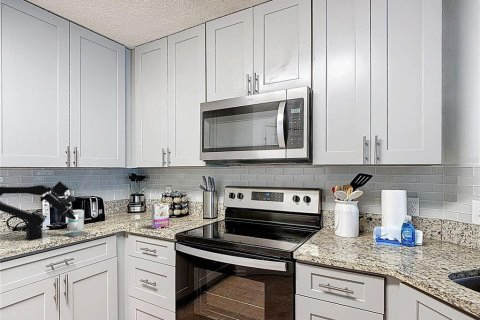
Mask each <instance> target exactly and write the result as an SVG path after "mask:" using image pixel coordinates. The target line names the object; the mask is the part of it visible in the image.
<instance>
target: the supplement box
mask: <svg viewBox="0 0 480 320" xmlns="http://www.w3.org/2000/svg"><path fill="white" fill-rule="evenodd" d="M72 210H73V212H74V213H77V214H78V229H76V230H75V231H79V230H83V229H84V223H85V222H84V221H85V219H84V217H85V210H84V209H72ZM67 230H69V218H67ZM71 232H74V230H71Z"/></svg>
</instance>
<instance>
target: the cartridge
mask: <svg viewBox="0 0 480 320" xmlns="http://www.w3.org/2000/svg"><path fill="white" fill-rule="evenodd" d="M72 214H73V215H74V216H75V217H76V219H75V220H74V219H71V218H69V229H68V231H72V230H73V231H77V230H76V229H78V214H77V213H72ZM78 230H79V229H78Z"/></svg>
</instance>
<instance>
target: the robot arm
mask: <svg viewBox="0 0 480 320" xmlns="http://www.w3.org/2000/svg"><path fill="white" fill-rule="evenodd" d="M68 190H70V187H69V186H68V185H67V184H65V183H64V182H62V181H58V182H57V183H56V184H55V185H54V186H53V187H52V186H47V185H45V184H39V185H32V186H4V185H3V186H0V197H2V196H3V195H4V194H5V195H7V194H10V195H11V194H28V195H29V194H30V195H34V196H35V195H36V196H40V198H39V199H40V200H39V201H40V202H43V201H46V203H48V204H49V205H50V206H51V207H52V208H54V209H55V210H57V212H56V214H57V216H59V217H60V216H61V217H63V218H67V219H68V218H71V219H74V220H75V219H76V217H75V216H74V215H73V214H72V213H74V212H73V210H74V209H73V202H75V201H76V198H75V196H74V195H71V194H69V195H67V196H66V198H61V197H59V196H63V195H64V194H65V193H67V191H68ZM0 211H1V212H3V213H6V214H8V215H11V216H14V217H17V218H19V219H23V220H25V221H26V222H27V223H28V224H26V225H25V228H26V229H25V230H26V231H25V237H24V238H23V239H24V240H28V241H33V240H38V239H43V229H42V227H41V226H42V225H43V223H44V222H46V221H45V220H46V216H45V215H44V214H43V213H41V212H38V211H36V210H35V211H33V212H29V211H26V210H24V209H20V208H18V207H15V206H13V205H9V204H7V203H4V202H3V201H1V200H0Z"/></svg>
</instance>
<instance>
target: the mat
mask: <svg viewBox="0 0 480 320" xmlns="http://www.w3.org/2000/svg"><path fill="white" fill-rule="evenodd" d="M87 235H89V232H88V231H82V230H74V231H70V232H66V233H64V237H68V238H78V237H82V236H87Z"/></svg>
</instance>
